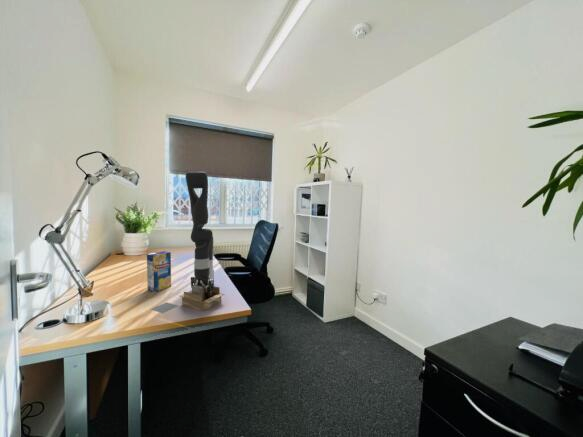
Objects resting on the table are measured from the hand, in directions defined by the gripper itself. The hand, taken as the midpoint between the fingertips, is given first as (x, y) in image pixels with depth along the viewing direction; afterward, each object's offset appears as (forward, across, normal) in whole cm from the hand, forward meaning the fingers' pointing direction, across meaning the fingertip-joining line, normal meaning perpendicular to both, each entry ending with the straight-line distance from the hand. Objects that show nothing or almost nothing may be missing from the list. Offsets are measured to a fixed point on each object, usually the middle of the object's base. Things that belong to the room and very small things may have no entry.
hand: (202, 297), depth 121 cm
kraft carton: (+4, 0, 0) cm, 4 cm away
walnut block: (+3, 0, 0) cm, 3 cm away
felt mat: (+4, +13, +12) cm, 18 cm away
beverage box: (+4, +41, -6) cm, 42 cm away
